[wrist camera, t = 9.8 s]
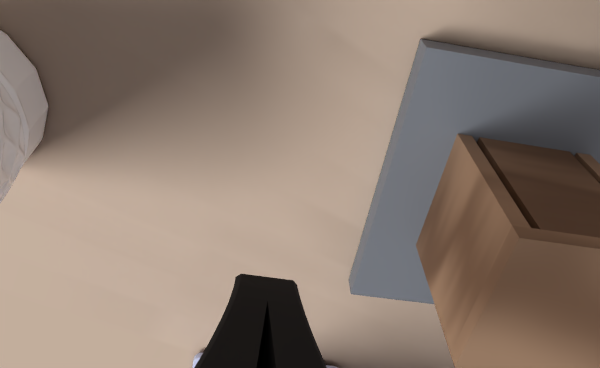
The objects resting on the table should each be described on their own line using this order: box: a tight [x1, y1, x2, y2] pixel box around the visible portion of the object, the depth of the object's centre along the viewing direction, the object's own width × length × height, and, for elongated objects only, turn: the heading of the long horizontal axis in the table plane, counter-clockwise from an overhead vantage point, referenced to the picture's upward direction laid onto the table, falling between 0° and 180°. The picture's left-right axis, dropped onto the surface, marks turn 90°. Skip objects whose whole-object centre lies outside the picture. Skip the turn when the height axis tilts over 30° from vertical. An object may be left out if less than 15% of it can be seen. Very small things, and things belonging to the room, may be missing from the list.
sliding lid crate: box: [416, 134, 600, 368], centre depth 20 cm, size 6×6×7 cm
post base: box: [349, 39, 600, 304], centre depth 21 cm, size 12×10×5 cm
